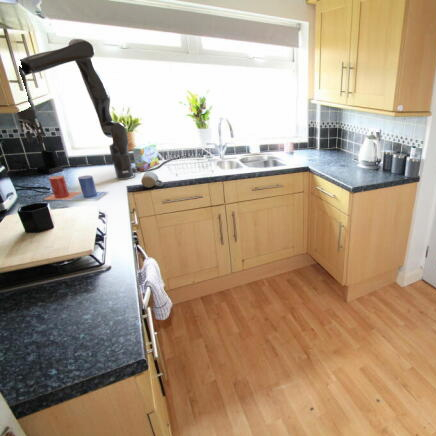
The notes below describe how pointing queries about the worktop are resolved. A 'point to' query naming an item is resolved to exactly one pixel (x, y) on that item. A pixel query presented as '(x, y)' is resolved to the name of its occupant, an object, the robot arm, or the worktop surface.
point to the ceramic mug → (150, 180)
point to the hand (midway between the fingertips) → (36, 142)
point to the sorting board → (74, 196)
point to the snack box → (145, 156)
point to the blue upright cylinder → (87, 186)
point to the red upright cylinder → (59, 186)
